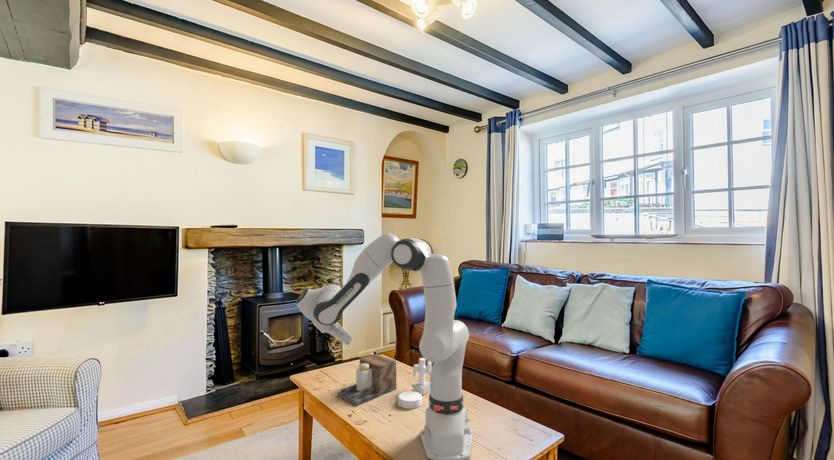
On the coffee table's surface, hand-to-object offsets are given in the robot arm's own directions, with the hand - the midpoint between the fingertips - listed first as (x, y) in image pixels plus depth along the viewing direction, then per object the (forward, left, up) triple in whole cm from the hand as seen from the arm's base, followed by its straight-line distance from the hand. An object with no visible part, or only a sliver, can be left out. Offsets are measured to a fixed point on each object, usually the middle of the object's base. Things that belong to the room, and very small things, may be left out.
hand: (347, 343), depth 159 cm
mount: (+9, -7, -25) cm, 27 cm away
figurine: (+9, -31, -25) cm, 41 cm away
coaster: (-2, -26, -25) cm, 37 cm away
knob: (+8, -6, -23) cm, 25 cm away
